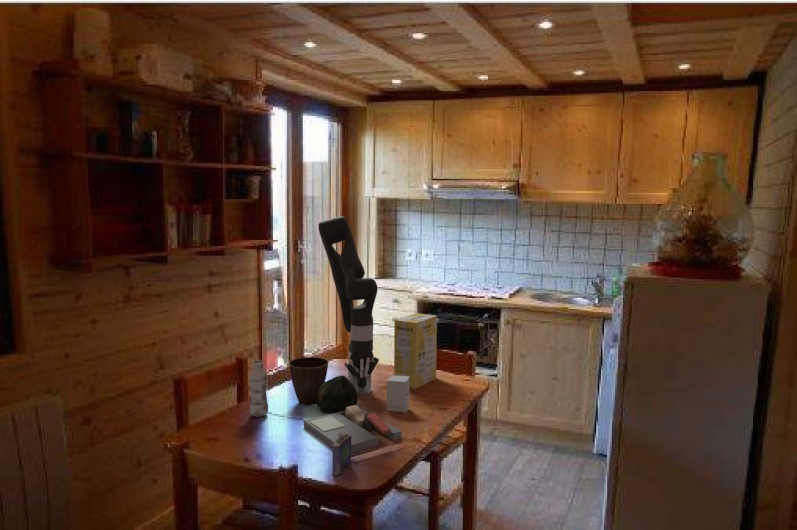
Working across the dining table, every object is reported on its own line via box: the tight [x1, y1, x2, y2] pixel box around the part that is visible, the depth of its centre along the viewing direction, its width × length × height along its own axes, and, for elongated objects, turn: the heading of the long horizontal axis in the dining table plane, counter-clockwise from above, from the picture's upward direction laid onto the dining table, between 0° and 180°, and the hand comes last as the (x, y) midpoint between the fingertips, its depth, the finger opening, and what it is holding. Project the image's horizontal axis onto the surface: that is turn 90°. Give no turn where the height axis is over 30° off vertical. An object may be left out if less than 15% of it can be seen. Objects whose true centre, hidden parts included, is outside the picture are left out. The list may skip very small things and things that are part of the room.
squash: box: [315, 375, 358, 414], centre depth 207 cm, size 14×15×15 cm
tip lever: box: [344, 409, 391, 435], centre depth 188 cm, size 23×6×8 cm, turn 35°
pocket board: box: [303, 406, 403, 458], centre depth 186 cm, size 26×22×4 cm
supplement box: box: [386, 374, 410, 414], centre depth 209 cm, size 7×7×13 cm
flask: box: [331, 433, 352, 477], centre depth 163 cm, size 9×3×11 cm, turn 158°
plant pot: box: [288, 356, 329, 407], centre depth 217 cm, size 15×15×16 cm
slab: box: [345, 404, 365, 428], centre depth 192 cm, size 9×4×3 cm, turn 35°
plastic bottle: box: [248, 359, 269, 418], centre depth 203 cm, size 6×7×20 cm
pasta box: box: [393, 312, 438, 390], centre depth 244 cm, size 18×10×28 cm, turn 148°
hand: (361, 387), depth 191 cm, fingers closed
